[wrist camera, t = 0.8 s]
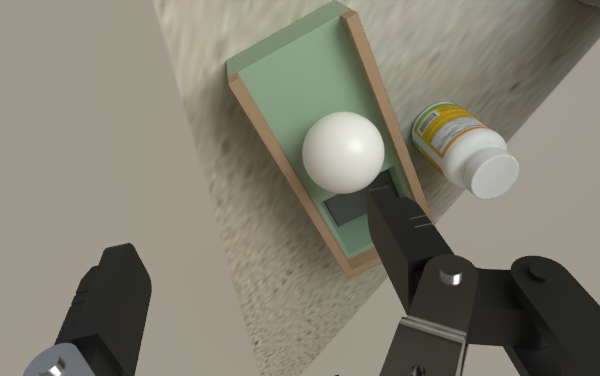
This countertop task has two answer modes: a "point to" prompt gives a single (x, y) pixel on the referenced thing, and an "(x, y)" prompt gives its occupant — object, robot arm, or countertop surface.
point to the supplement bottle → (465, 150)
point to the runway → (315, 105)
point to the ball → (343, 152)
